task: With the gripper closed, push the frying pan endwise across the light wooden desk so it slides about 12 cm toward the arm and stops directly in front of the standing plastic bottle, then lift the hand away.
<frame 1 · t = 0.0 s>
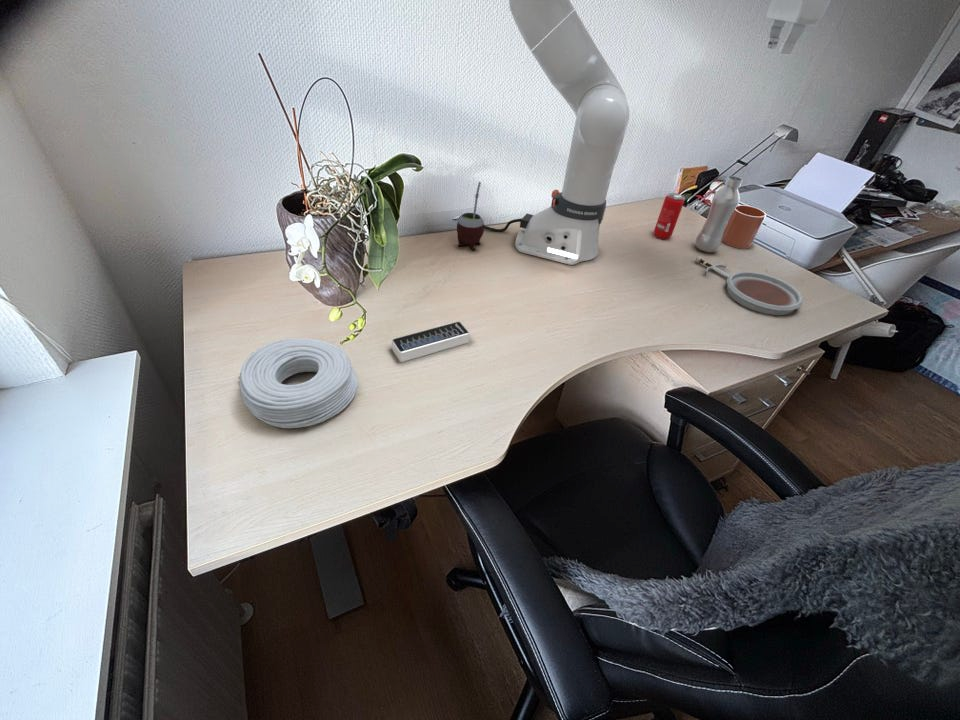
hand: (776, 50, 90), 48 cm above the table, tool pointing down, fingers open, 8 cm apart
cable: (303, 393, 76), on the table
multiport hub: (431, 346, 88), on the table
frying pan: (740, 287, 115), on the table
beverage can: (661, 236, 135), on the table
plastic bottle: (704, 250, 130), on the table
mate gourd: (469, 245, 121), on the table
mug: (735, 241, 136), on the table
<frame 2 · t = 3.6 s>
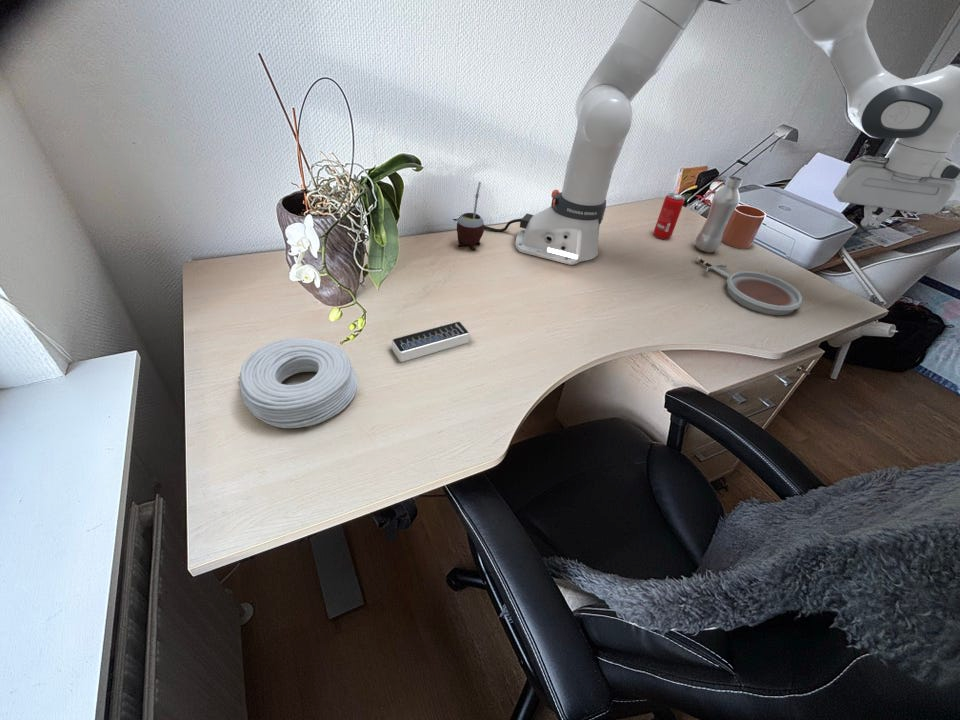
hand: (868, 226, 101), 19 cm above the table, tool pointing down, fingers closed
nothing on the table moved.
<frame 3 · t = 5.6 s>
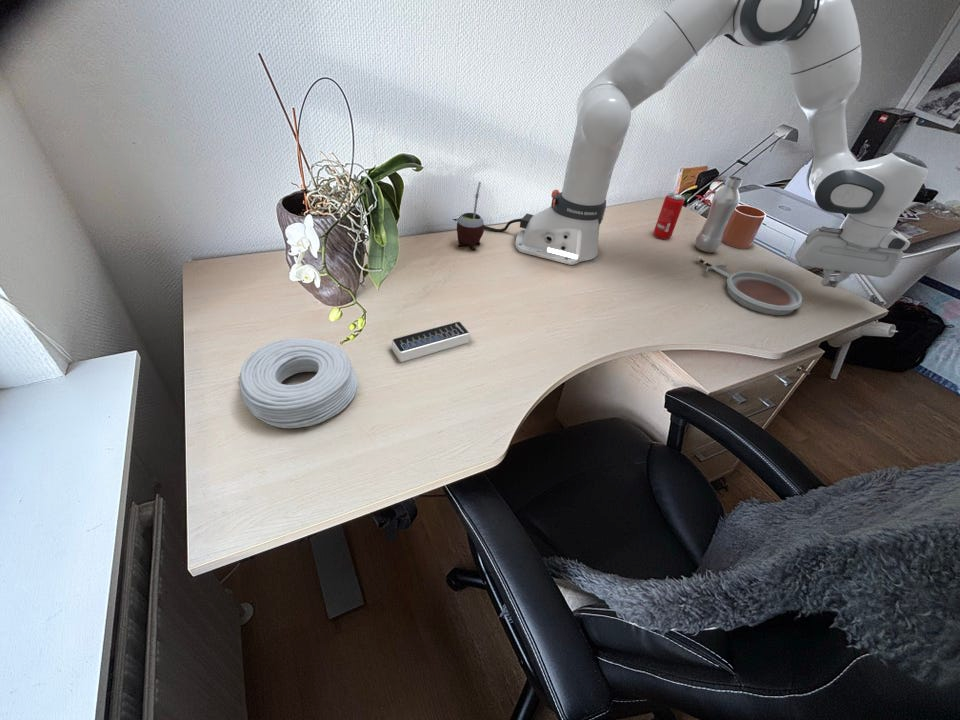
hand: (827, 285, 111), 4 cm above the table, tool pointing down, fingers closed
nothing on the table moved.
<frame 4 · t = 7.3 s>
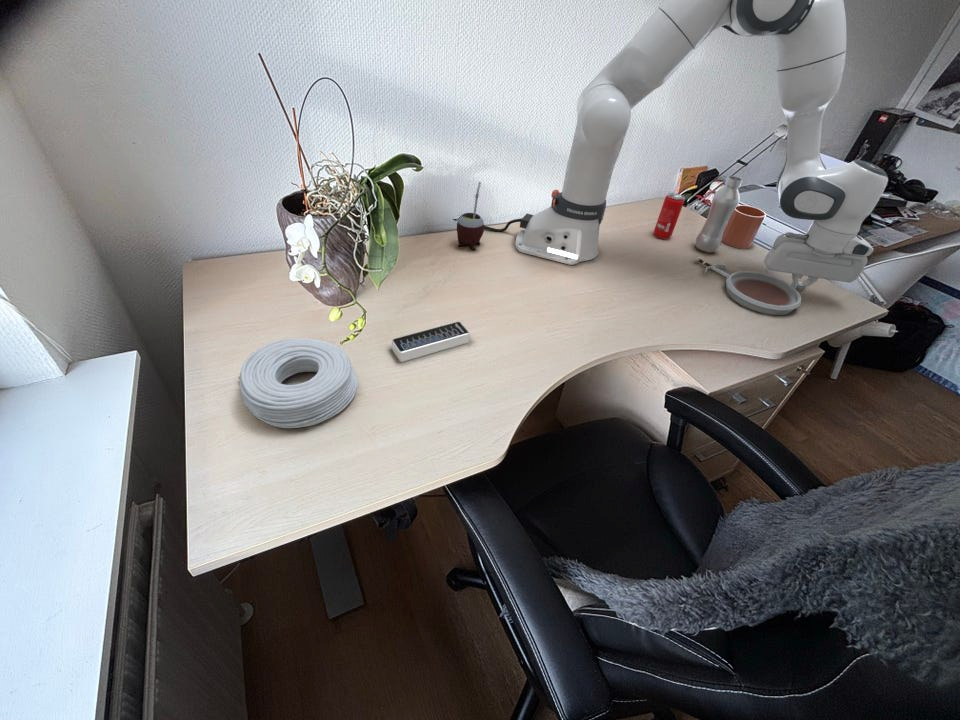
hand: (796, 290, 113), 1 cm above the table, tool pointing down, fingers closed
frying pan: (739, 286, 115), on the table, touching gripper
everything else where it was.
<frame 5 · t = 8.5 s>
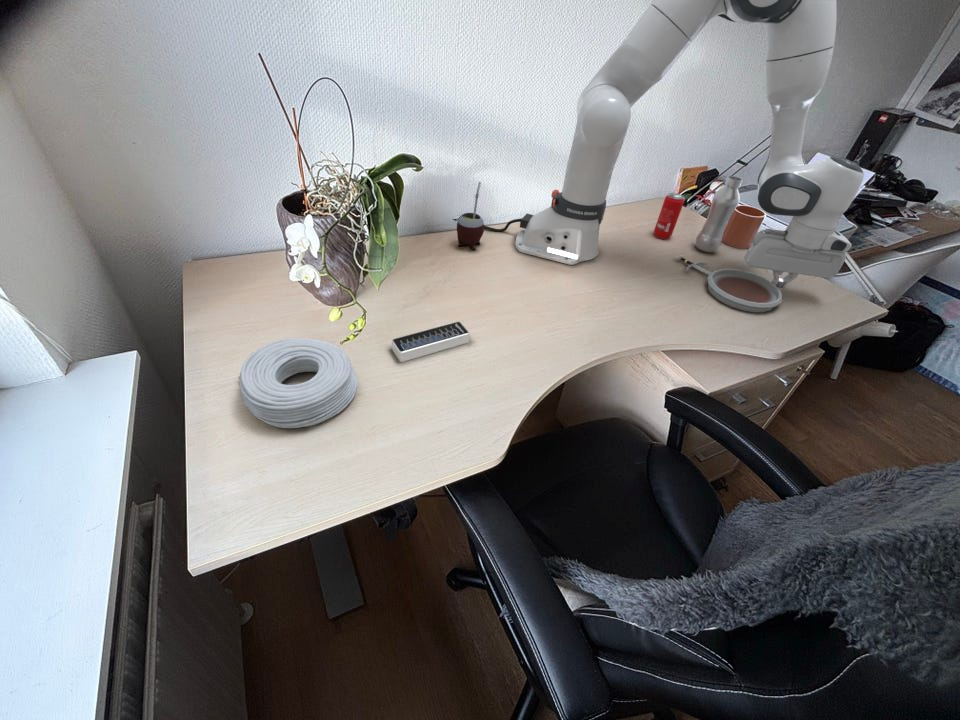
hand: (777, 286, 113), 2 cm above the table, tool pointing down, fingers closed
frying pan: (720, 284, 115), on the table, touching gripper
everything else where it was.
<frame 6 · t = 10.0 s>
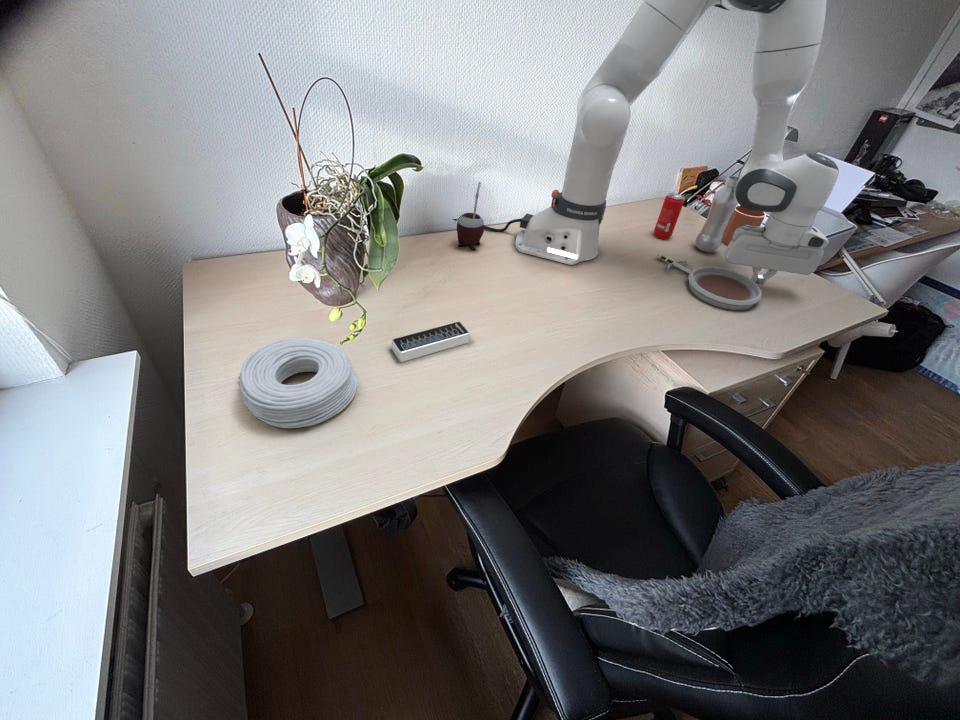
hand: (757, 282, 114), 2 cm above the table, tool pointing down, fingers closed
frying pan: (701, 282, 115), on the table, touching gripper
everything else where it was.
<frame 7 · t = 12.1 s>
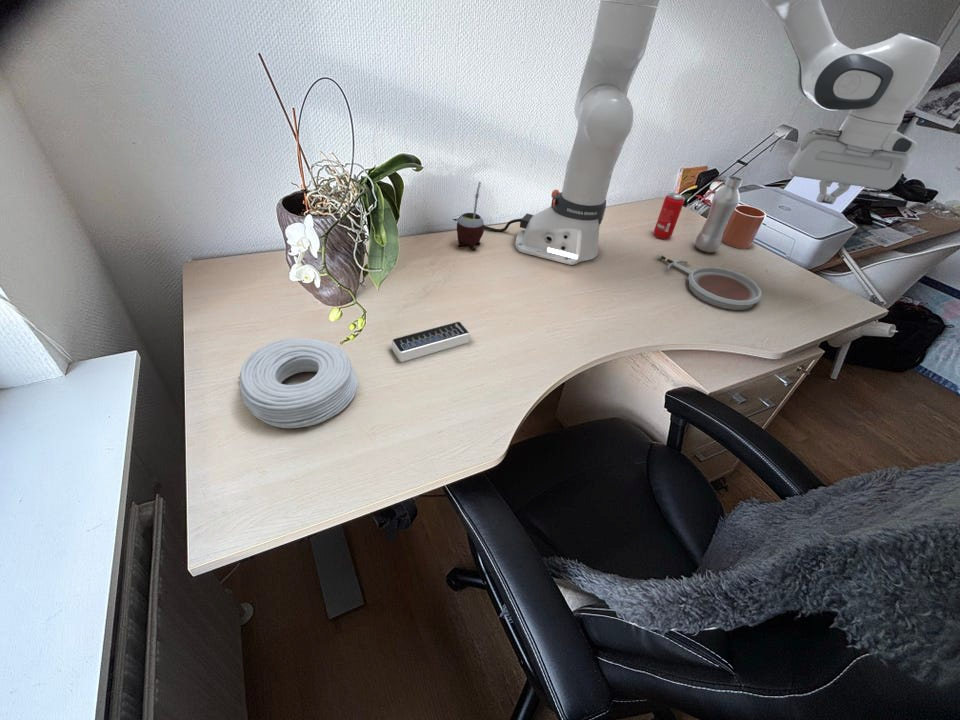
hand: (823, 202, 100), 23 cm above the table, tool pointing down, fingers closed
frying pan: (701, 282, 115), on the table
everything else where it was.
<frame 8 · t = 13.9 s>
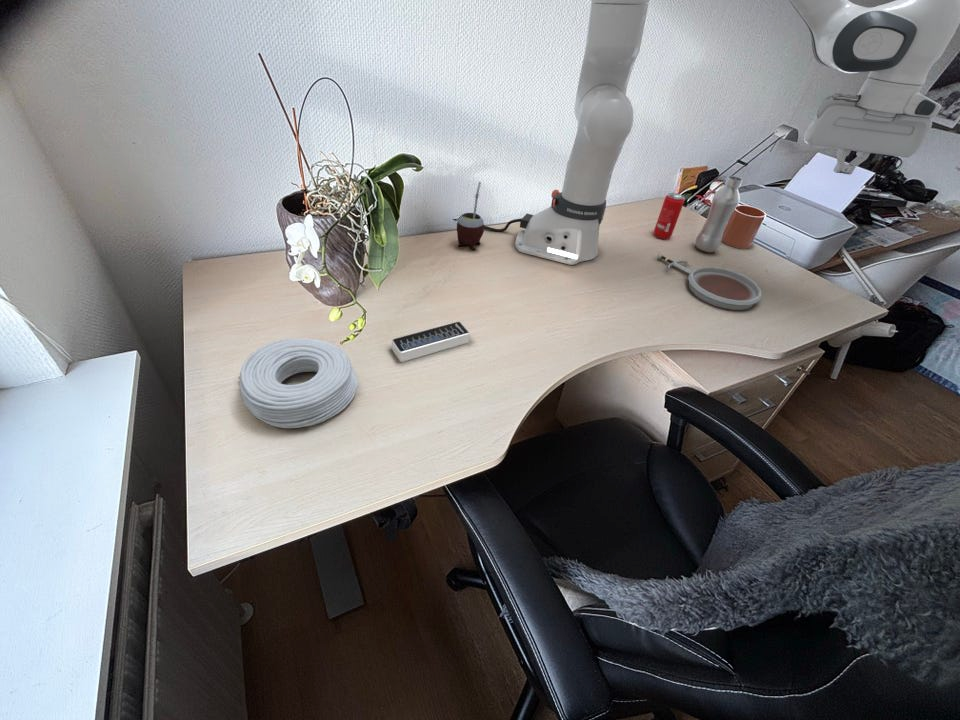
hand: (841, 172, 95), 29 cm above the table, tool pointing down, fingers closed
nothing on the table moved.
at the end: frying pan inside the target area (3.0 cm from its centre), on the table; plastic bottle tilted 0°; plastic bottle moved 0.2 cm from its start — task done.
